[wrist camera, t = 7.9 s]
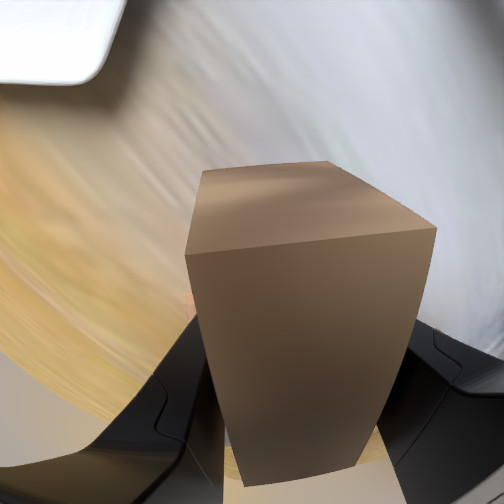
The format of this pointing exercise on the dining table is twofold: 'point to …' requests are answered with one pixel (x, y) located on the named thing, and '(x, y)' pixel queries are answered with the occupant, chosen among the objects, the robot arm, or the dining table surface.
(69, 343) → the dining table surface
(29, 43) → the salad plate
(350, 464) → the tall cardboard box
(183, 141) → the dining table surface
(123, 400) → the dining table surface
